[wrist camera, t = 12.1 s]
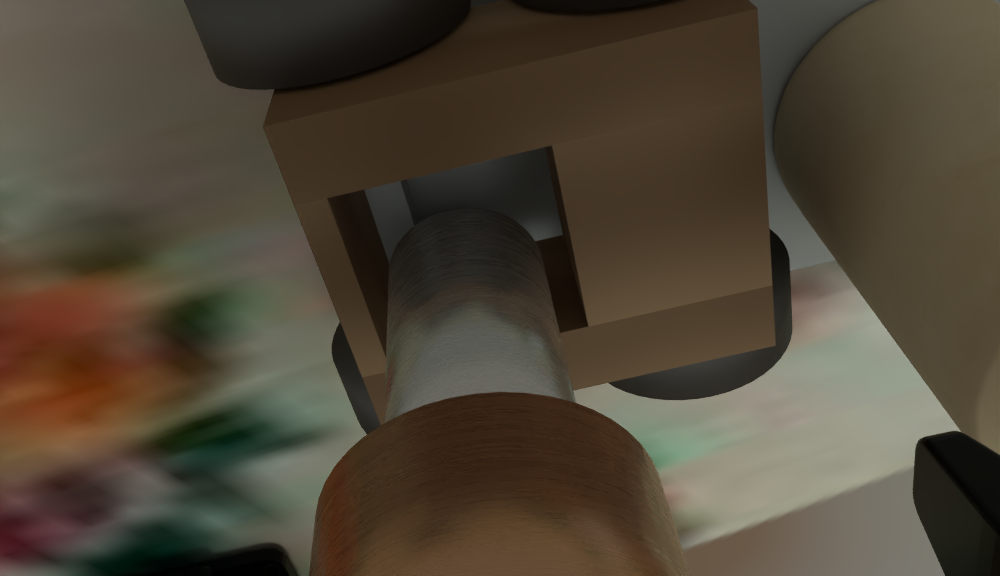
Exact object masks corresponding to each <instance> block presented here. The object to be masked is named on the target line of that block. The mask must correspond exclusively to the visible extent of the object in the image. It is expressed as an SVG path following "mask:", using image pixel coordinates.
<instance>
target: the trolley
mask: <svg viewBox="0 0 1000 576" xmlns="http://www.w3.org/2000/svg"><path fill="white" fill-rule="evenodd" d="M184 1H185V3H186V6H187V8H188V11H189V13H190V15H191V18H192V20H193V23H194V25H195V28H196V30H197V32H198V35H199V37H200V40H201V42H202V44H203V47H204V49H205V52H206V54H207V57H208V59H209V61H210V64H211V66H212V69H213V71H214V73H215V75H216V77H217V78H218V79H219V80H220V81H221V82H223V83H225V84H227V85H229V86H233V87H237V88H244V89H259V90H267V89H275V90H274V93H273V97H272V100H271V103H270V106H269V109H268V113H267V116H266V119H265V122H264V125H263V128H264V131H265V133H266V136H267V138H268V141H269V143H270V146H271V148H272V151H273V153H274V156H275V158H276V161H277V163H278V166H279V168H280V171H281V174H282V176H283V179H284V181H285V184H286V186H287V189H288V191H289V194H290V196H291V199H292V201H293V204H294V206H295V209H296V211H297V214H298V216H299V219H300V222H301V224H302V227H303V229H304V232H305V234H306V237H307V239H308V242H309V244H310V247H311V249H312V252H313V254H314V257H315V259H316V262H317V264H318V267H319V270H320V272H321V275H322V277H323V280H324V282H325V285H326V287H327V290H328V292H329V295H330V297H331V300H332V302H333V305H334V307H335V310H336V312H337V315H338V318H339V320H340V323H339V325H338V327H337V329H336V332H335V334H334V337H333V342H332V356H333V361H334V363H335V366H336V368H337V371H338V373H339V375H340V378H341V380H342V383H343V385H344V387H345V390H346V392H347V395H348V397H349V400H350V402H351V404H352V407H353V409H354V412H355V414H356V416H357V419H358V421H359V423H360V425H361V427H362V428H363V430H364V431H365V432H366V434H369V433H370V432H372V431H373V430H375V429H376V428H378V427H379V426H380V425H382V424H384V413H385V378H386V344H387V309H388V275H389V265H390V264H389V261H388V258H387V255H386V252H385V249H384V246H383V243H382V240H381V237H380V235H379V232H378V229H377V226H376V223H375V220H374V217H373V214H372V211H371V208H370V205H369V202H368V199H367V196H366V194H365V191H364V189H369V188H373V187H377V186H381V185H386V184H390V183H394V182H398V181H403V180H407V179H411V178H415V177H420V176H424V175H428V174H432V173H437V172H441V171H445V170H450V169H454V168H458V167H462V166H467V165H471V164H475V163H479V162H484V161H488V160H492V159H496V158H501V157H505V156H509V155H513V154H518V153H522V152H526V151H530V150H535V149H539V148H543V147H545V151H546V155H547V160H548V165H549V170H550V175H551V180H552V184H553V189H554V194H555V199H556V204H557V209H558V214H559V218H560V223H561V228H562V233H563V235H560V236H556V237H552V238H547V239H543V240H539V241H535V242H536V243H537V245H538V247H539V250H540V252H541V256H542V259H543V263H544V268H545V272H546V276H547V280H548V285H549V289H550V293H551V298H552V302H553V306H554V311H555V315H556V319H557V323H558V328H559V332H560V336H561V341H562V345H563V349H564V354H565V358H566V362H567V366H568V371H569V375H570V379H571V384H572V388H573V390H577V389H582V388H586V387H591V386H595V385H600V384H604V383H609V384H611V385H612V386H614V387H616V388H618V389H621V390H623V391H625V392H628V393H631V394H635V395H638V396H642V397H648V398H653V399H663V400H688V399H699V398H705V397H710V396H715V395H719V394H722V393H726V392H729V391H732V390H734V389H737V388H740V387H742V386H744V385H746V384H748V383H750V382H752V381H754V380H755V379H757V378H758V377H760V376H762V375H763V374H764V373H766V372H767V371H768V370H769V369H770V368H772V367H773V366H774V365H775V364H776V363H777V362H778V360H779V359H780V358H781V357H782V355H783V354H784V352H785V351H786V349H787V347H788V345H789V342H790V340H791V335H792V308H791V283H790V258H789V254H788V251H787V248H786V246H785V245H784V243H783V241H782V240H781V239H780V238H779V236H778V235H777V234H776V233H774V232H773V231H772V230H771V229H770V228H769V212H768V193H767V175H766V156H765V138H764V119H763V101H762V82H761V63H760V45H759V26H758V8H757V7H756V6H755V5H754V4H752V3H751V2H750V1H749V0H501V1H497V2H493V3H489V4H485V5H481V6H477V7H473V8H470V6H471V0H184Z"/></svg>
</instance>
